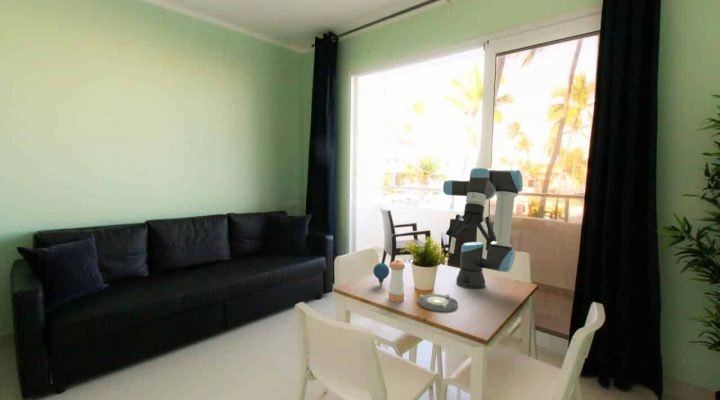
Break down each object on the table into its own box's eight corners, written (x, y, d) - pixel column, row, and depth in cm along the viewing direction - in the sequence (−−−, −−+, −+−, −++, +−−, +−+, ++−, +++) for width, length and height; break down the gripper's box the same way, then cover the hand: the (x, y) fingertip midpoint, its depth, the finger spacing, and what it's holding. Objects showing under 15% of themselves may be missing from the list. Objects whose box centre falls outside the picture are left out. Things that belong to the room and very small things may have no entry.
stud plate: (447, 295, 164) (447, 290, 164) (464, 310, 146) (465, 305, 146) (412, 297, 161) (413, 291, 161) (426, 312, 143) (426, 306, 143)
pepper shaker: (404, 297, 160) (406, 259, 159) (402, 303, 153) (403, 263, 152) (390, 295, 162) (391, 257, 161) (387, 301, 155) (388, 261, 154)
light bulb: (381, 281, 183) (382, 260, 182) (391, 286, 176) (392, 264, 175) (369, 284, 178) (370, 262, 177) (380, 289, 171) (380, 266, 170)
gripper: (443, 200, 142) (435, 249, 138) (503, 204, 125) (495, 259, 122) (450, 205, 147) (442, 252, 144) (509, 208, 131) (502, 262, 127)
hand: (467, 255), depth 133 cm, fingers open, 13 cm apart
